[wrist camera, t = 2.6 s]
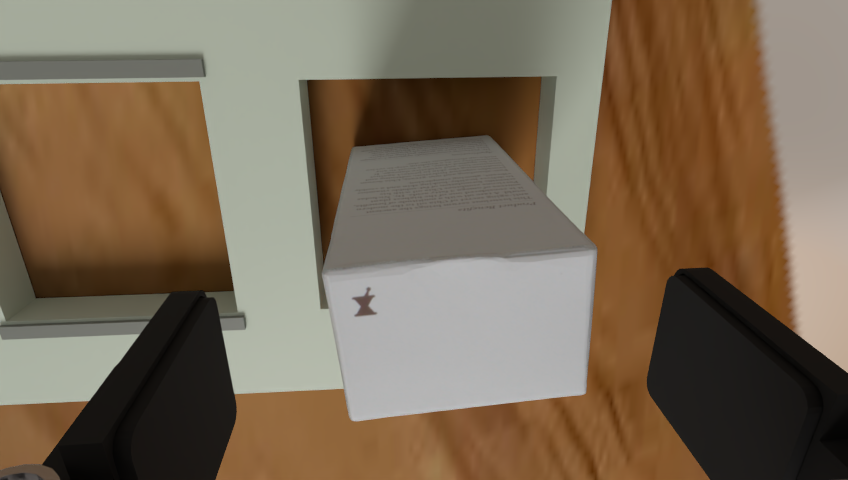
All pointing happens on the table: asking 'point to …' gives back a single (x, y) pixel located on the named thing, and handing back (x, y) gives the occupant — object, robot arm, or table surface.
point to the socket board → (273, 152)
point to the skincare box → (454, 282)
